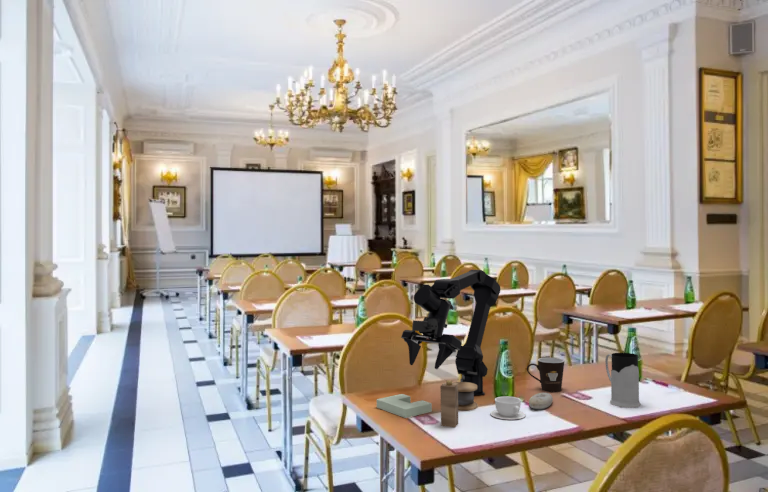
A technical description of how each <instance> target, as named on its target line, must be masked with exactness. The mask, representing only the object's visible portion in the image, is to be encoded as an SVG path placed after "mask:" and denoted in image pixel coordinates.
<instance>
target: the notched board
mask: <svg viewBox="0 0 768 492" xmlns="http://www.w3.org/2000/svg"><path fill="white" fill-rule="evenodd" d="M411 398H412V397H411V396H410V395H407V394H404V393H400V394H395V395H391V396H386V397H380V398H377V399H376V408H377V409H379V410H383V411H385V412H388V413H391V414H393V415H396V416H399V417H401V418H404V419H408V418H412V417H415V416H418V415H419V416H420V415H423V414H427V413H432V411H433V410H432V409H433V408H432V402H430V401H425V400H423V399H422V400H417V401H413V402H412V401H411V400H412V399H411ZM411 416H412V417H411Z"/></svg>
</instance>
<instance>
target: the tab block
mask: <svg viewBox="0 0 768 492" xmlns="http://www.w3.org/2000/svg"><path fill="white" fill-rule="evenodd" d="M439 388H440V426H441V427H449V428H456V427H457V426H458V424H459V410H458V383H454V382H453V381H452V380H450V379H449V380H446V382H443V383H441V385H440V387H439Z"/></svg>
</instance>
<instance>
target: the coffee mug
mask: <svg viewBox="0 0 768 492" xmlns="http://www.w3.org/2000/svg"><path fill="white" fill-rule="evenodd" d="M531 366H534V367H536V368H537V370H538V372H539V378H538V377H536V376H534V375H533V374H532V373H531V372H530V371H529V368H530V367H531ZM564 368H565V359H562V358H557V357H541V358H538V359H537V364H536V363H529V364H528V365H527V366H526V372H527V374H528V375H529V376H531V377H532V378H533V379H535V380H537V381H538V382H539V383H540V387H541V388H540V389H541V390H542V391H543V392H545V393H560V392H562V388H563V387H562V386H563V377H564Z"/></svg>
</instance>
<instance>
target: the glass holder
mask: <svg viewBox="0 0 768 492" xmlns="http://www.w3.org/2000/svg"><path fill="white" fill-rule="evenodd" d="M609 356H610V358H611V370H609V359H608V358H609ZM605 370H606V374H607V377H608V380H609V382H610V385H611V386H610V389H611V390H610V392H611V394H610V395H611V399H610V401H609V404H610V405H612V406H614V407H618V408H625V409H632V408H633V409H635V408H639V407H641V406H642V405H641V404H642V403H640V382H639V381H640V373H639V355H638V354H635V353H631V352H613V353H608V354H607V355H606V356H605Z"/></svg>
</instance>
